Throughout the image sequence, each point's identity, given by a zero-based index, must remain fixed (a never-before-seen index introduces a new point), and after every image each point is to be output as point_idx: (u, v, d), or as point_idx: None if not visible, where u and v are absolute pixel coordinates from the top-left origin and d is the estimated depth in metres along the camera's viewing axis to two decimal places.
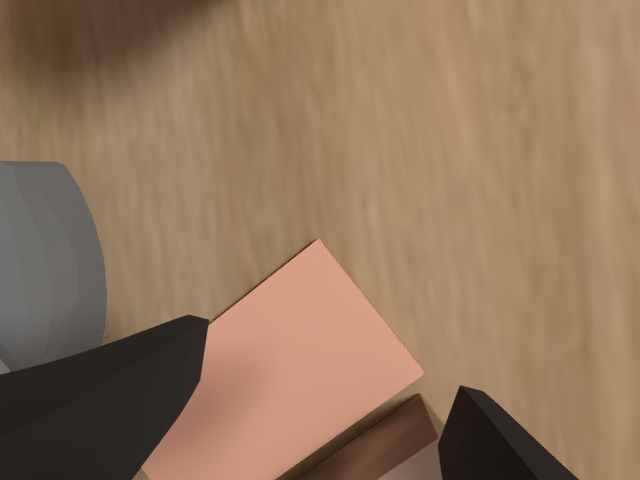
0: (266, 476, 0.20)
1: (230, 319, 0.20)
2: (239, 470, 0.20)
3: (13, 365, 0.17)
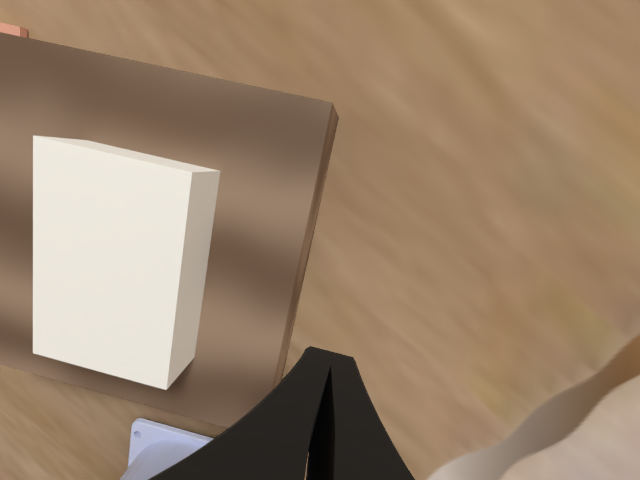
0: None
1: None
2: None
3: None
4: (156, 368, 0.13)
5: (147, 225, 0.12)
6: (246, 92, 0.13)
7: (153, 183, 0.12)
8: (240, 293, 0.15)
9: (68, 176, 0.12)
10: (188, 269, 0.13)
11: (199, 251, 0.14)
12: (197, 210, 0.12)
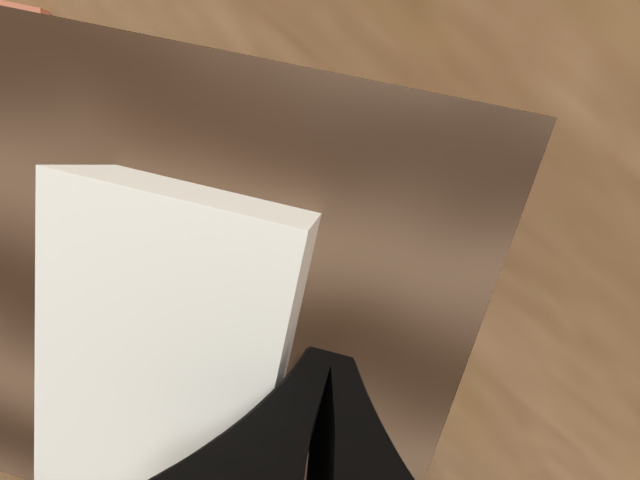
0: None
1: None
2: None
3: None
4: None
5: (224, 312, 0.07)
6: (412, 101, 0.08)
7: (238, 247, 0.07)
8: (372, 396, 0.10)
9: (94, 232, 0.07)
10: (280, 373, 0.08)
11: (290, 337, 0.09)
12: (300, 283, 0.08)
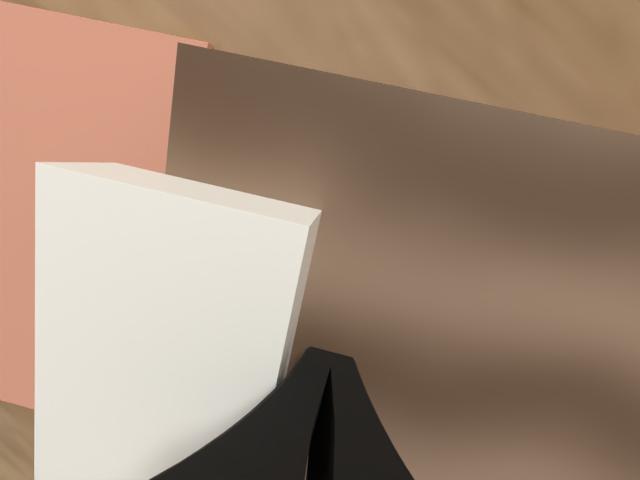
0: None
1: None
2: None
3: None
4: None
5: (226, 309, 0.07)
6: None
7: (239, 243, 0.07)
8: (588, 454, 0.10)
9: (94, 229, 0.07)
10: (281, 370, 0.08)
11: (291, 335, 0.09)
12: (301, 280, 0.08)
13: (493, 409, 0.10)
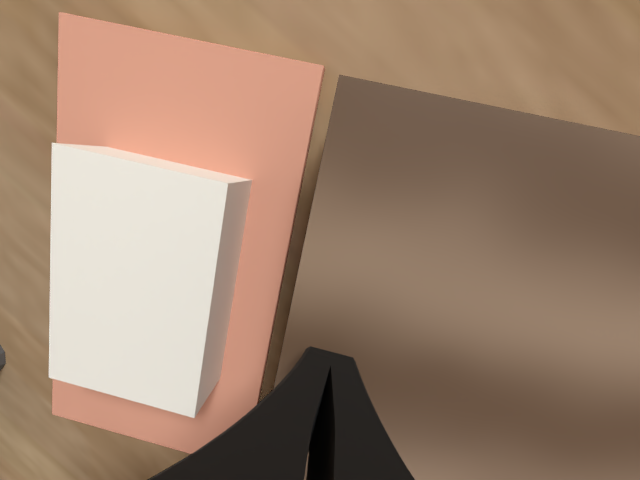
0: (256, 352, 0.14)
1: None
2: (224, 367, 0.15)
3: None
4: None
5: None
6: None
7: None
8: None
9: None
10: None
11: None
12: None
13: None
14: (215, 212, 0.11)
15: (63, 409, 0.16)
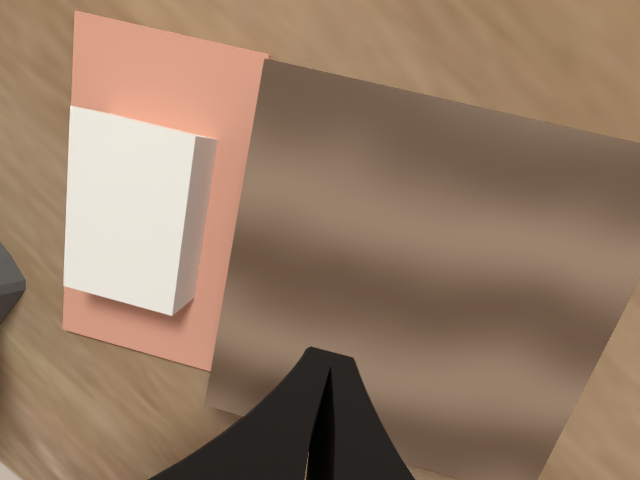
0: (222, 276, 0.19)
1: None
2: (198, 288, 0.19)
3: None
4: None
5: None
6: (600, 143, 0.12)
7: None
8: (539, 352, 0.14)
9: None
10: None
11: None
12: None
13: (473, 319, 0.14)
14: (186, 157, 0.15)
15: (71, 325, 0.21)
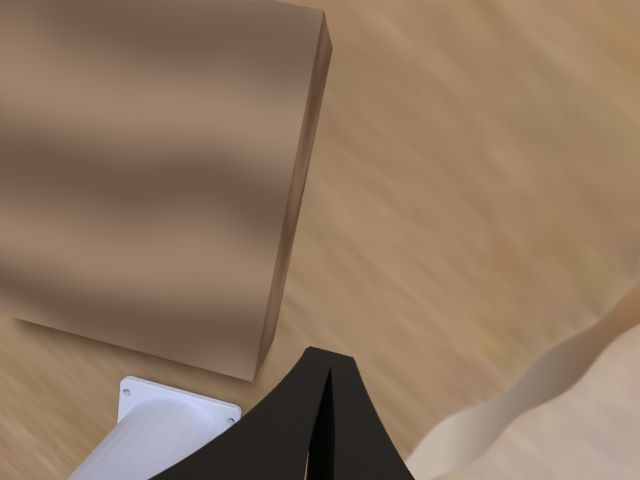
0: None
1: None
2: None
3: None
4: None
5: None
6: (233, 1, 0.12)
7: None
8: (229, 224, 0.14)
9: None
10: None
11: None
12: None
13: (165, 194, 0.14)
14: None
15: None
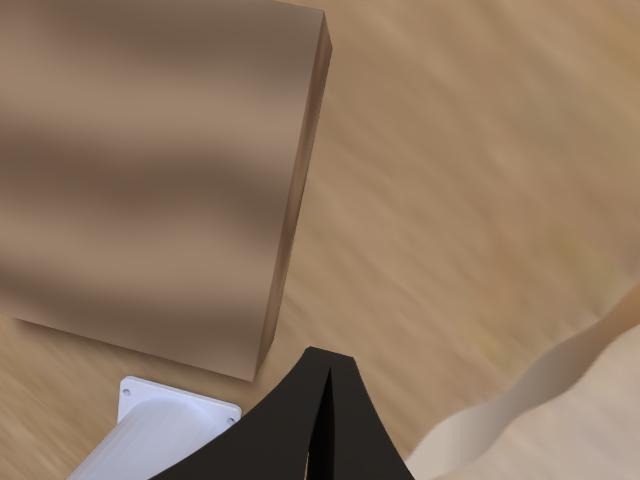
0: None
1: None
2: None
3: None
4: None
5: None
6: (233, 1, 0.12)
7: None
8: (229, 224, 0.14)
9: None
10: None
11: None
12: None
13: (165, 194, 0.14)
14: None
15: None
